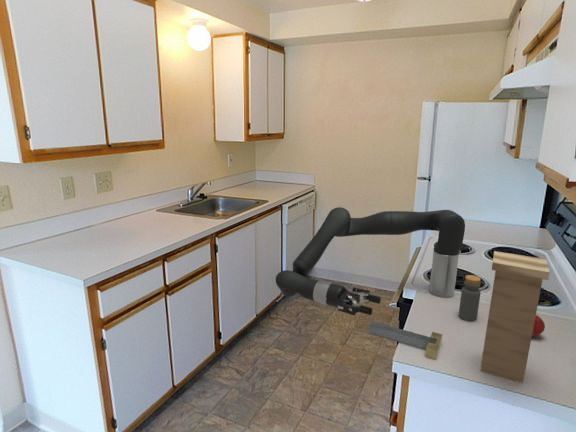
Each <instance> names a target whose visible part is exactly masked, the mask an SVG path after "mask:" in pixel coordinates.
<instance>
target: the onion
mask: <svg viewBox="0 0 576 432" xmlns="http://www.w3.org/2000/svg"><path fill="white" fill-rule="evenodd" d="M545 324H546V323H545V322H544V320H543V319H542V317H540V316H539V315H538V314H537V313H536V317H535V322H534V327H533V333H532V337H535V336H540V335H541V334H543V332H544V331H545V329H546V325H545Z"/></svg>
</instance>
